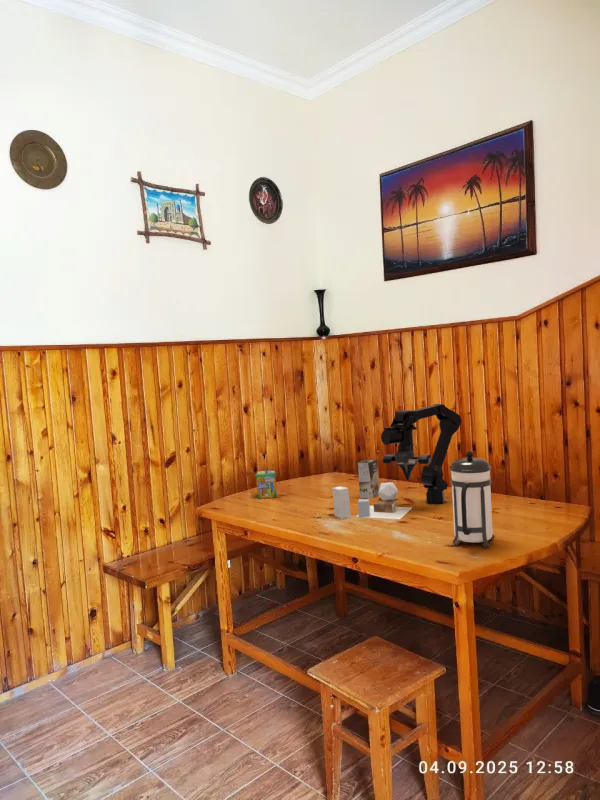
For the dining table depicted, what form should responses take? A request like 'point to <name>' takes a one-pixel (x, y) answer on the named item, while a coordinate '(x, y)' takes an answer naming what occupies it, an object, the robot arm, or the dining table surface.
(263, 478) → the chalk box
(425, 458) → the robot arm
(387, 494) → the die
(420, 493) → the dining table surface
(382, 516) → the mat
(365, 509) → the blue-grey block
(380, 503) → the walnut block
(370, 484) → the coffee box
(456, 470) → the coffee press
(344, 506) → the skincare box
